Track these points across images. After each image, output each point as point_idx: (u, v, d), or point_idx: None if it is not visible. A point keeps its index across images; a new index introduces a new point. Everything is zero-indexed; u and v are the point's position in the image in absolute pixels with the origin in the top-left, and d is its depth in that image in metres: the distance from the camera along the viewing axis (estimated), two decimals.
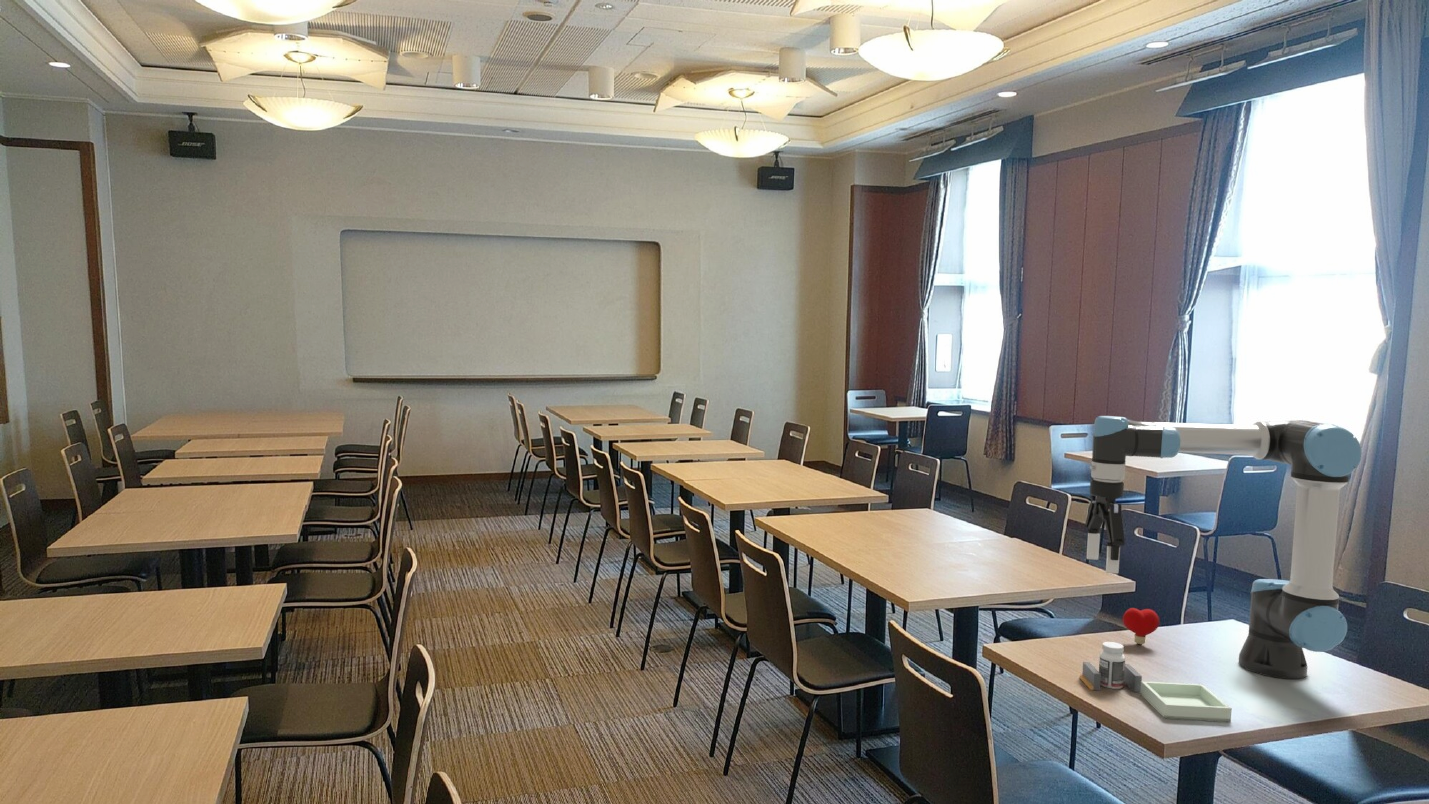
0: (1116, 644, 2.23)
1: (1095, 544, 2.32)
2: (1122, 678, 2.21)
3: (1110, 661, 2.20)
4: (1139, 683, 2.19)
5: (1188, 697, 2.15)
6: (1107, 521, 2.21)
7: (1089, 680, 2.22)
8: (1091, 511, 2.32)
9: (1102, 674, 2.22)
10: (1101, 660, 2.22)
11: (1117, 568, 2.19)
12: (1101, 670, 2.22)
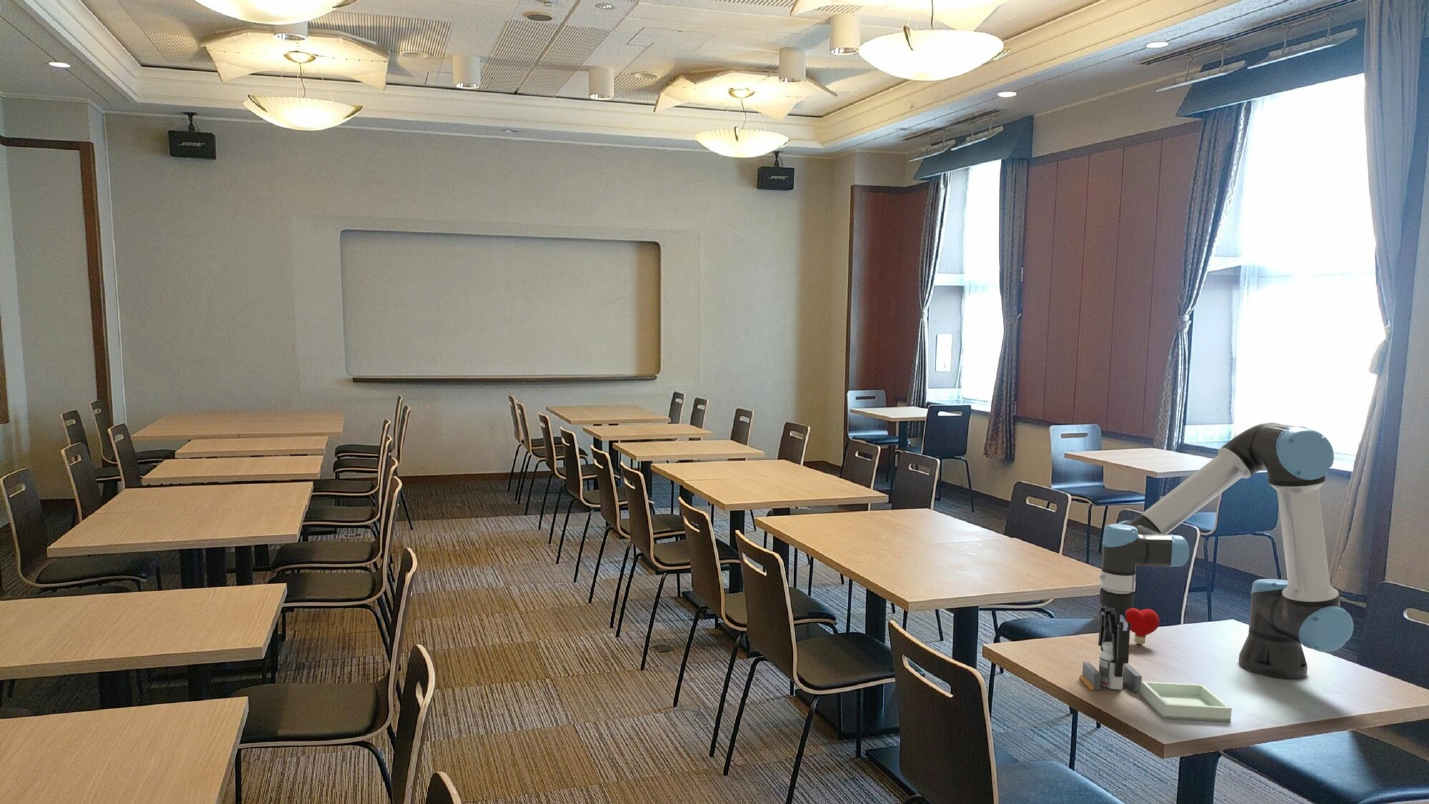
0: None
1: None
2: None
3: None
4: (1139, 683, 2.19)
5: (1188, 697, 2.15)
6: (1114, 636, 2.19)
7: (1089, 680, 2.22)
8: (1102, 624, 2.27)
9: (1102, 674, 2.22)
10: (1101, 660, 2.22)
11: (1121, 684, 2.20)
12: (1101, 670, 2.22)
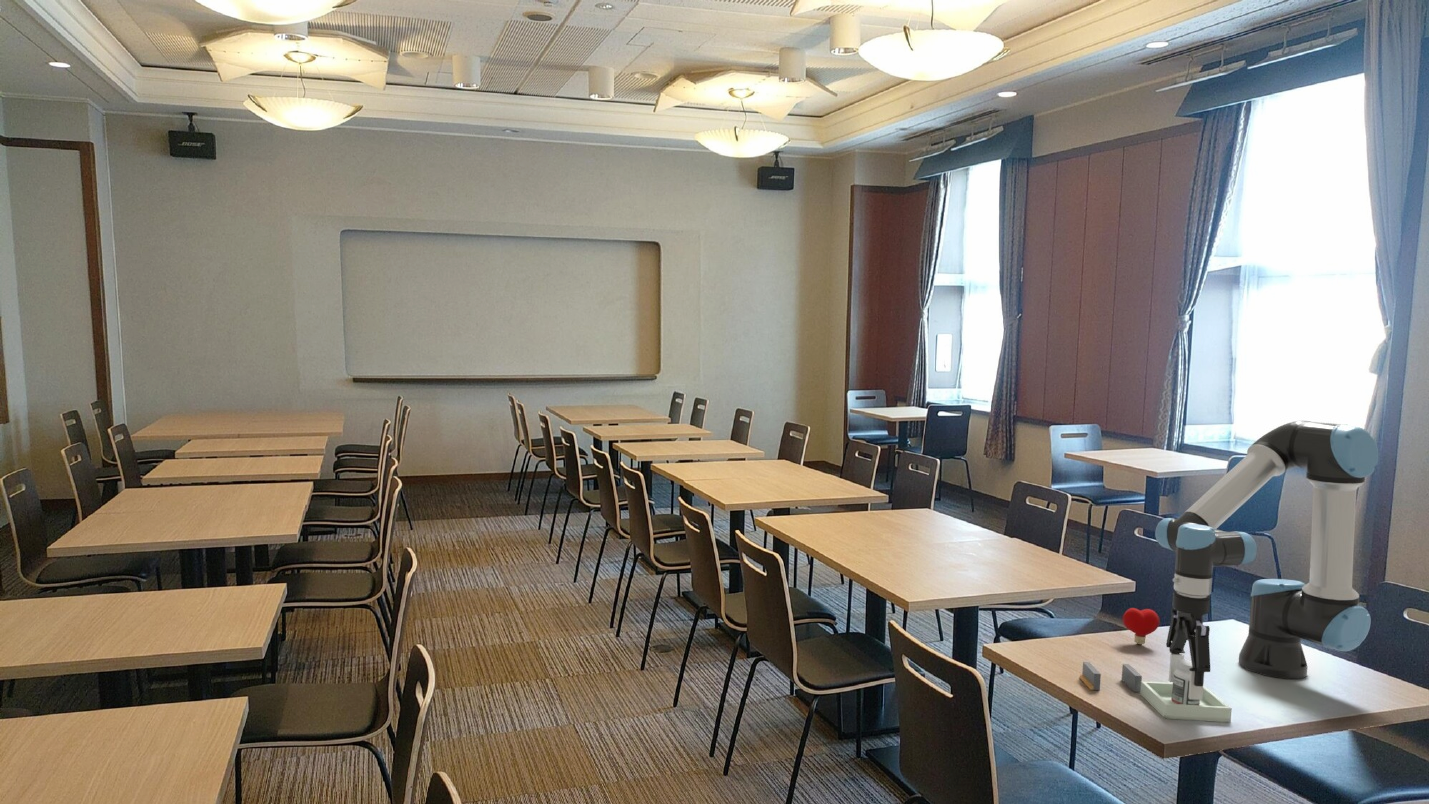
0: None
1: None
2: None
3: (1186, 680, 2.07)
4: (1139, 683, 2.19)
5: None
6: (1192, 642, 2.06)
7: (1089, 680, 2.22)
8: (1173, 627, 2.15)
9: (1176, 693, 2.09)
10: (1176, 678, 2.09)
11: (1201, 694, 2.05)
12: (1175, 689, 2.09)
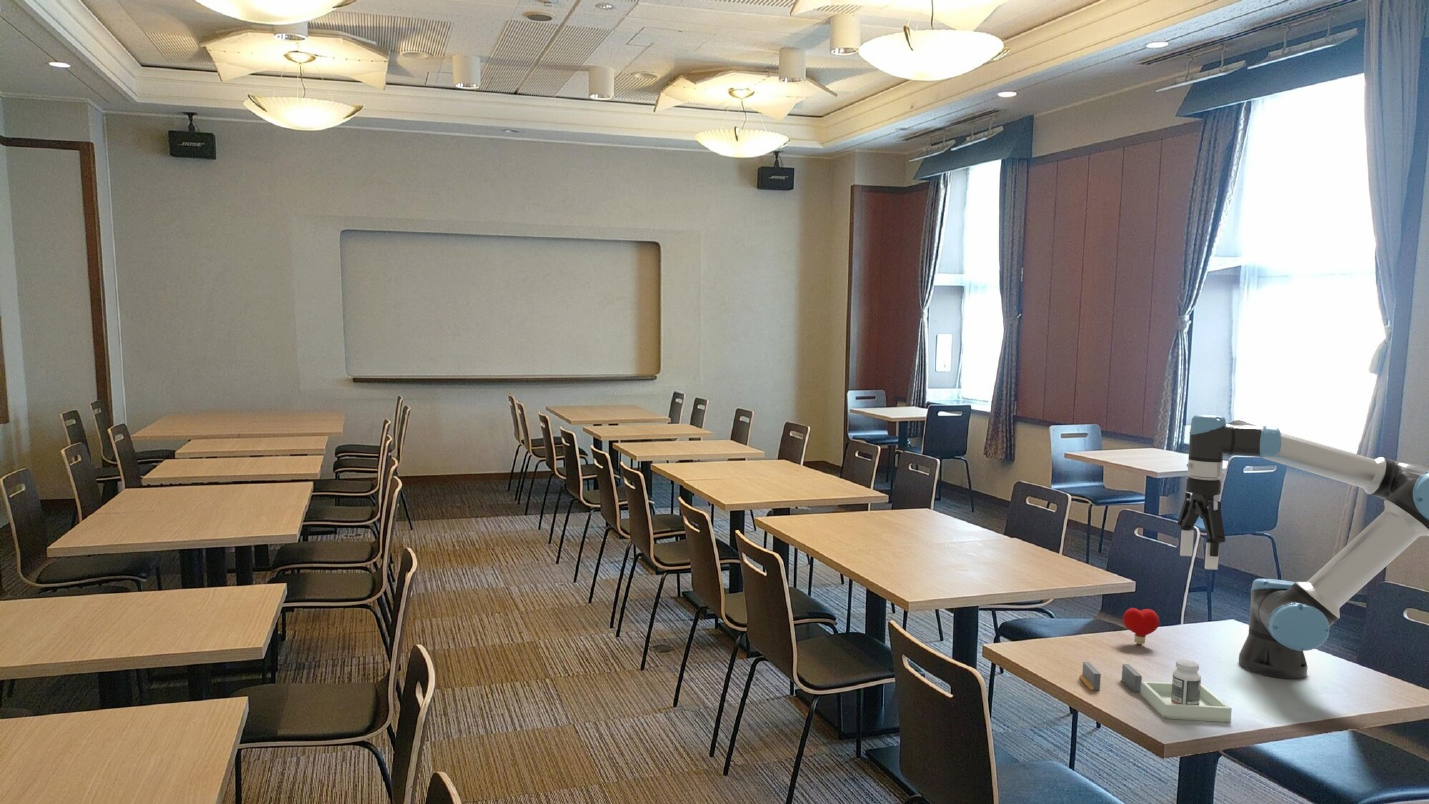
0: (1191, 662, 2.10)
1: (1189, 541, 2.36)
2: (1197, 698, 2.08)
3: (1185, 680, 2.08)
4: (1139, 683, 2.19)
5: None
6: (1205, 518, 2.24)
7: (1089, 680, 2.22)
8: (1185, 508, 2.36)
9: (1176, 694, 2.09)
10: (1175, 679, 2.10)
11: (1216, 564, 2.22)
12: (1174, 689, 2.10)
